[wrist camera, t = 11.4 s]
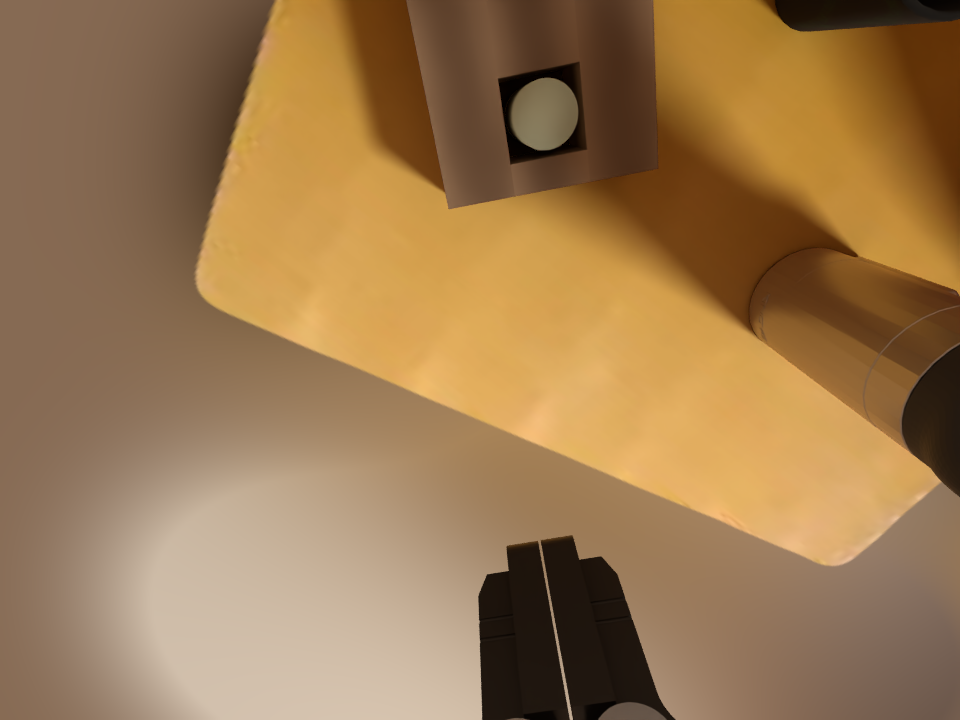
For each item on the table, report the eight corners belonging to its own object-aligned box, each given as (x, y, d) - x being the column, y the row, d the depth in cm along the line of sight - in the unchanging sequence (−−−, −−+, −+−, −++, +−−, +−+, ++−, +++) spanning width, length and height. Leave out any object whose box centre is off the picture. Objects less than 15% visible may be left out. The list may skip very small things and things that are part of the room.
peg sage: (555, 78, 37) (574, 71, 30) (562, 139, 38) (581, 143, 32) (500, 90, 37) (508, 85, 31) (509, 149, 39) (518, 156, 32)
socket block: (615, -149, 31) (646, -204, 26) (631, 161, 39) (658, 168, 34) (391, -99, 32) (377, -142, 27) (450, 196, 40) (448, 209, 34)
